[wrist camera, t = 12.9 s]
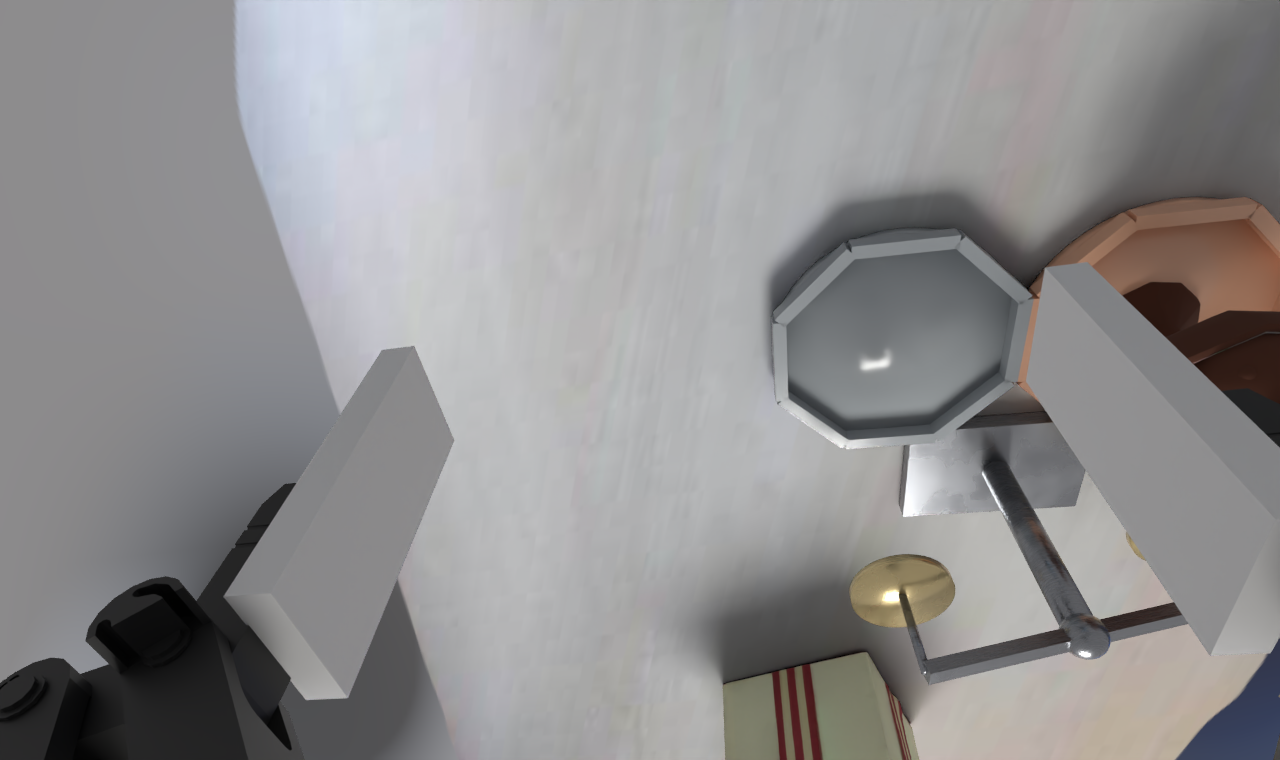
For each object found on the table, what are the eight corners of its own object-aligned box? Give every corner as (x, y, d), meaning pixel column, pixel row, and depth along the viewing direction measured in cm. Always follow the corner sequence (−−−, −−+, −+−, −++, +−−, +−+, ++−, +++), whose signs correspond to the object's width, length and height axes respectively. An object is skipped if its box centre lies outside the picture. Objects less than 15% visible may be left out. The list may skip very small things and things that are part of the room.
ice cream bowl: (1083, 237, 40) (1262, 393, 28) (1289, 241, 39) (1563, 401, 27) (1025, 390, 46) (1150, 573, 34) (1202, 395, 45) (1395, 583, 33)
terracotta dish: (1034, 213, 40) (1048, 226, 38) (1327, 181, 38) (1353, 193, 37) (996, 420, 48) (1006, 437, 47) (1235, 403, 47) (1253, 419, 45)
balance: (821, 428, 50) (874, 636, 36) (1185, 400, 47) (1394, 614, 33) (820, 509, 54) (867, 721, 40) (1152, 488, 51) (1324, 709, 37)
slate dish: (767, 242, 42) (770, 255, 40) (1034, 213, 40) (1048, 226, 38) (775, 437, 50) (778, 454, 49) (996, 420, 48) (1006, 437, 47)
